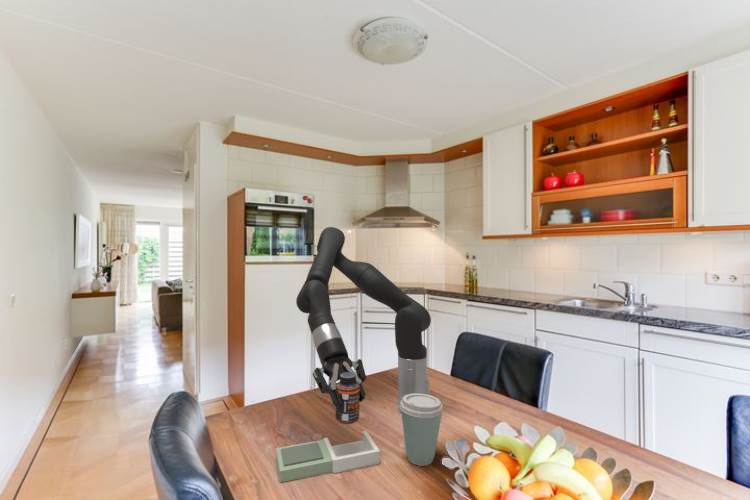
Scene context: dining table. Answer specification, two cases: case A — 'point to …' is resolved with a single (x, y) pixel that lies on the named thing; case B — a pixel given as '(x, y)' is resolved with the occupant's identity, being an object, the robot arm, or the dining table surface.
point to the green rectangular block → (303, 460)
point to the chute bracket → (353, 454)
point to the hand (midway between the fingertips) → (351, 403)
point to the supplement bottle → (348, 399)
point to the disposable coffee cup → (421, 426)
